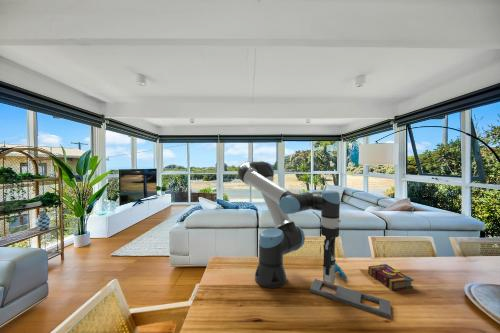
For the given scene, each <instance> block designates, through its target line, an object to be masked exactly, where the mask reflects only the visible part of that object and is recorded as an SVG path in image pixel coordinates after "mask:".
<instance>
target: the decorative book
mask: <svg viewBox="0 0 500 333" xmlns="http://www.w3.org/2000/svg"><path fill="white" fill-rule="evenodd" d="M367 267H368V269H367V270H368V275H370V276H371V277H372V278H373V279H374V280H377V281H378V282H379V283H382V285H383V286H384V287H386V288H389V289H390V290H391V291H398V290H399V291H401V290H405V289H406V290H410V289H414V286H412V282H414V278H412V277H410V276H408V275H407V274H406V275H405V274H403V273H402V272H401V271H400V270H399V269H395V268H393V267H392V266H390V265H388V264H386V263H382V264H378V265H369V266H367Z"/></svg>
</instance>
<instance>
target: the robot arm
mask: <svg viewBox="0 0 500 333" xmlns="http://www.w3.org/2000/svg"><path fill="white" fill-rule="evenodd" d="M237 175H238V178H239V179H240V181H241V182H242V183H244V184H245V185H247V186H252V187H253V188H254V189H256V190H258V191H259V192H260V193H261V195H262V198H263V200H264V203H265V204H266V207H267V210H268V212H269V215H270V217H271V219H272V221H273V223H274V224H273V225H274V227H272V228H265V229H263V230H262V231H261V232H260V234H259V238H258V265H257V267H256V268H255V273H254V280H255V282H256V283H257V284H258V285H259V286H261V287H263V288H267V289H268V288H269V289H277V288H280V287H283V286H284V285H285V284H287V274H286V271H285V265H284V256H285V255H287V254H289V253H292V252H295V251H297V250H300V249H301V248H302V247H303V246H304V245H305V242H306V241H305V240H306V238H305V237H306V236H305V232H304V230H303V229H302V228H301V227H300V226H298V225H296V224H295V221H294V220H292V219H290V217H289V215H292V214H296V213H300V212H305V211H309V210H315V211H318V212H319V211H320V213H321V215H320V225H321V227H320V234H321V236H324V237H325V239H324V240H323V243H324V244H323V264H322V267H324V281H326V282H330V283H331V255H333V256H334V257H336V253H335V251H336V238H338V237H340V223H342V220H341V219H340V212H341V211H340V210H341V209H340V208H341V196H340V192H339V191H336V190H323V191H322V192H321V193H313V192H309V191H301V192H300V193H299V194H295V193H292V192H291V191H289V190H287V189H286V188H284V187H282V186H281V185H279V184H278V183H276V182H274V175H275V169H274V166H273V165H272V164H271V163H270V162H268V161H261V160H260V161H249V160H248V161H245V162H243V163H241V165H240V166H239V167H238V169H237ZM288 214H289V215H288ZM335 262H336V258H335Z"/></svg>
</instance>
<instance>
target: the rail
mask: <svg viewBox="0 0 500 333" xmlns="http://www.w3.org/2000/svg"><path fill="white" fill-rule="evenodd" d="M309 292H310V293H313V294H315V295H319V296H322V297H325V298H328V299H331V300H334V301H336V302H340V303H343V304H346V305H349V306H352V307H355V308H357V309H361V310H363V311H366V312H370V313H372V314H375V315H379V316H382V317H385V318H388V319H392V307H391V301H390V300H389V299H388V300H386V299H384V298H382V297H381V298H380V297H378V296H374V295H371V294H368V293H363V292H361V291H357V290H354V289H351V288H347V287H344V286H341V285H338V284H337V285H336V284H335V283H334V284H333V285H327V284H326V283H324V281H323V280H321V279H320V280H319V279H318V278H314V280H313V282H312V284H311V285H310V287H309ZM362 299H364V300H368V301H371V302H374V303H378V308H377V307H374V306H371V305H367V304H364V303H362Z"/></svg>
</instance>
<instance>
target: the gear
mask: <svg viewBox="0 0 500 333" xmlns="http://www.w3.org/2000/svg"><path fill="white" fill-rule="evenodd" d="M336 273H339V274H340V275H341V276H342V277H343V278H344V279H346V278H348V276H347V275H346V274H345V272H344V271H343V270H342V268H341V266H339V265H338V264H337V263H336V262H335V274H336Z"/></svg>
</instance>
